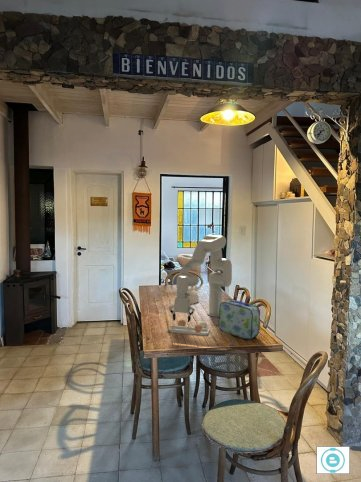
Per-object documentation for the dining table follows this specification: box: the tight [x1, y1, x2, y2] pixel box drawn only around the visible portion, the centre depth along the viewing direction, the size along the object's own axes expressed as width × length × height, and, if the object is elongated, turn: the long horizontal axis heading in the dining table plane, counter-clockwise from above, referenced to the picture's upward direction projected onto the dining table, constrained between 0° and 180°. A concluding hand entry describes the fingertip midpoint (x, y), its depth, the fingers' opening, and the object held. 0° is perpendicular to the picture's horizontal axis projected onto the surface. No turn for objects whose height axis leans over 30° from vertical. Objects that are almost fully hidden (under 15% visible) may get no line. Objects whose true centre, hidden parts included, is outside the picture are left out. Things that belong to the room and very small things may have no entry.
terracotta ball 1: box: [177, 319, 187, 327], centre depth 218 cm, size 5×5×5 cm
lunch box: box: [218, 298, 261, 340], centre depth 205 cm, size 26×11×21 cm, turn 45°
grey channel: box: [168, 325, 211, 337], centre depth 208 cm, size 8×24×2 cm, turn 76°
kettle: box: [188, 285, 200, 305], centre depth 285 cm, size 20×21×18 cm
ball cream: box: [199, 320, 208, 329], centre depth 214 cm, size 5×5×5 cm
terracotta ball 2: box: [194, 323, 202, 332], centre depth 207 cm, size 5×5×5 cm
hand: (181, 320), depth 217 cm, fingers open, 9 cm apart
